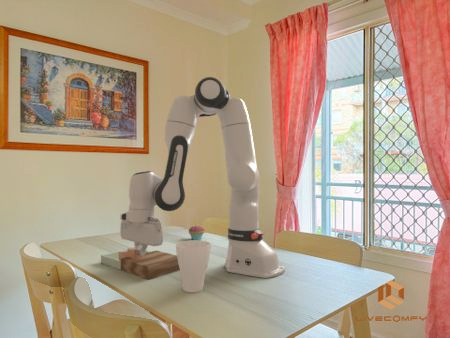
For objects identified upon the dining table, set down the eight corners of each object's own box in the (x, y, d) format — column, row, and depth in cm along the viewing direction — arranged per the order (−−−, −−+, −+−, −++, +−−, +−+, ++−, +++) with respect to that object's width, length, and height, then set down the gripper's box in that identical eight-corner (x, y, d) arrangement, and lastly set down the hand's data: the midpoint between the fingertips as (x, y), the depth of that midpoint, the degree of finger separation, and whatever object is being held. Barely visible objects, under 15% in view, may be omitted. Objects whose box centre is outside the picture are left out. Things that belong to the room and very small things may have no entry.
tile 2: (143, 256, 116) (143, 248, 116) (133, 258, 113) (134, 250, 113) (136, 254, 119) (136, 246, 119) (127, 256, 116) (127, 248, 116)
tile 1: (132, 251, 121) (127, 250, 123) (123, 252, 118) (118, 251, 120) (132, 261, 120) (127, 261, 122) (123, 263, 117) (118, 262, 119)
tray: (156, 260, 125) (156, 253, 126) (120, 269, 113) (120, 261, 113) (136, 255, 134) (136, 248, 134) (100, 263, 121) (101, 255, 121)
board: (184, 268, 116) (184, 257, 116) (149, 279, 103) (149, 267, 103) (156, 260, 125) (156, 250, 126) (120, 269, 113) (120, 258, 113)
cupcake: (187, 238, 170) (187, 216, 170) (202, 237, 172) (202, 215, 172) (190, 241, 161) (190, 218, 162) (206, 240, 164) (206, 217, 164)
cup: (217, 288, 95) (218, 243, 95) (191, 298, 87) (192, 249, 88) (194, 280, 102) (194, 238, 102) (168, 289, 94) (168, 243, 95)
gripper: (167, 218, 110) (167, 258, 110) (132, 213, 123) (131, 249, 122) (153, 220, 105) (152, 262, 105) (117, 214, 118) (116, 252, 117)
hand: (140, 254), depth 114 cm, fingers closed
